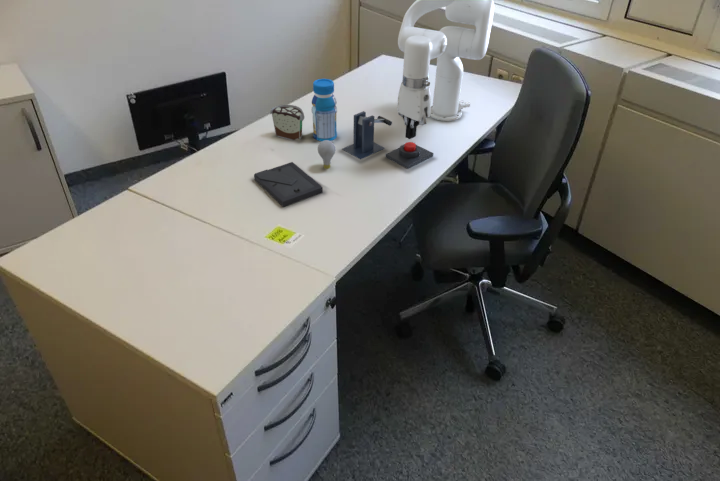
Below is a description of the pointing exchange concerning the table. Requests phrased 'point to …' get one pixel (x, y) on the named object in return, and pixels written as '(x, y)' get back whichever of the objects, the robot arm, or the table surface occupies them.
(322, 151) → the light bulb
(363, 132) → the switch bracket
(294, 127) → the food container
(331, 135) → the beverage bottle
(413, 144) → the stop button
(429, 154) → the button housing
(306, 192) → the picture frame
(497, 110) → the table surface
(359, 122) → the switch lever
